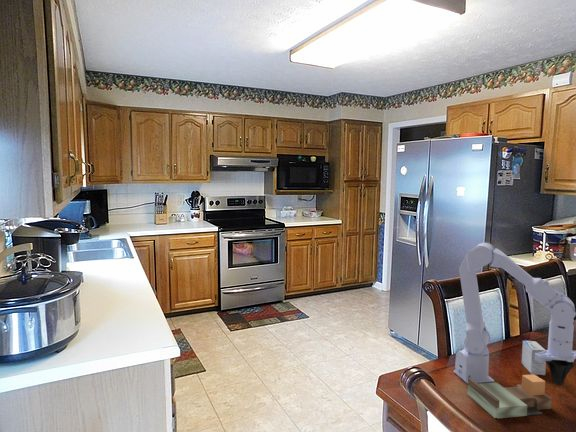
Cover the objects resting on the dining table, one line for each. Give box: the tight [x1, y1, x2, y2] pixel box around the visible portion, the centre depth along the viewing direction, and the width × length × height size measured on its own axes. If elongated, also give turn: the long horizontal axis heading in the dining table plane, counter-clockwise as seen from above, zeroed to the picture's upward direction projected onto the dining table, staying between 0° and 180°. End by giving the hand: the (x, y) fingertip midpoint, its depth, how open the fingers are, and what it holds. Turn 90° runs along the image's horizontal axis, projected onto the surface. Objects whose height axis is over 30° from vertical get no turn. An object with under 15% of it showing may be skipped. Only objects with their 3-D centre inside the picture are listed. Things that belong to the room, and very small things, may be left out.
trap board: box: [467, 378, 553, 419], centre depth 107 cm, size 19×12×5 cm, turn 99°
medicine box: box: [521, 340, 547, 376], centre depth 127 cm, size 8×4×9 cm, turn 168°
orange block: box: [521, 374, 546, 396], centre depth 108 cm, size 4×4×4 cm
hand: (557, 383), depth 109 cm, fingers closed
